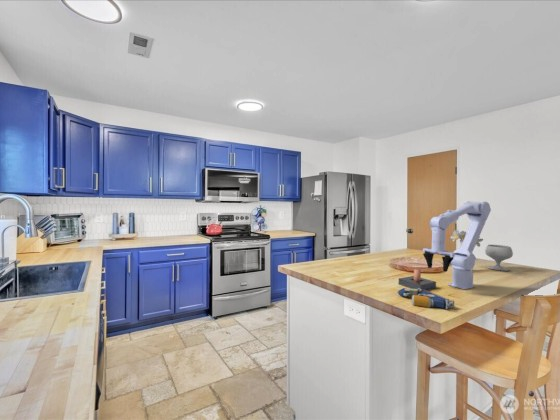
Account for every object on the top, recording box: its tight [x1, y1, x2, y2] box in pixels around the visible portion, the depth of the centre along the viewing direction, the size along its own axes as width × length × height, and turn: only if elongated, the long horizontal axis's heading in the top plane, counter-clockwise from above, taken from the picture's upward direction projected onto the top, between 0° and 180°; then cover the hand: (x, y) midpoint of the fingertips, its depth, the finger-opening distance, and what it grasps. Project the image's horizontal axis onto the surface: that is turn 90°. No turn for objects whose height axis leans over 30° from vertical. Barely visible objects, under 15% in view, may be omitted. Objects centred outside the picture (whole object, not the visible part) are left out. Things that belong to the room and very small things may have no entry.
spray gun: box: [396, 287, 455, 310], centre depth 116 cm, size 21×4×15 cm
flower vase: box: [450, 229, 484, 248], centre depth 172 cm, size 13×18×25 cm
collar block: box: [398, 275, 437, 291], centre depth 138 cm, size 12×12×3 cm
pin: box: [413, 268, 422, 282], centre depth 137 cm, size 3×3×8 cm
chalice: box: [484, 244, 514, 272], centre depth 179 cm, size 14×14×15 cm
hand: (437, 269), depth 134 cm, fingers open, 7 cm apart
